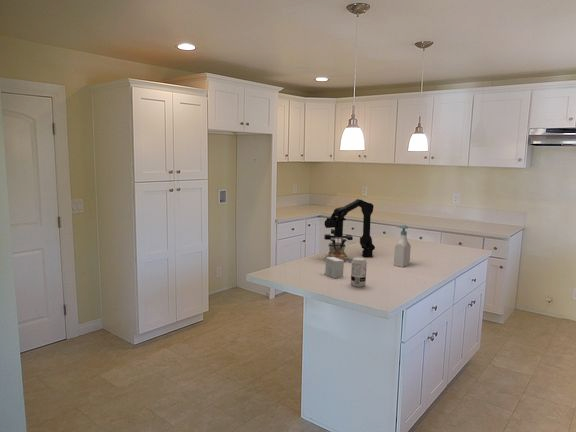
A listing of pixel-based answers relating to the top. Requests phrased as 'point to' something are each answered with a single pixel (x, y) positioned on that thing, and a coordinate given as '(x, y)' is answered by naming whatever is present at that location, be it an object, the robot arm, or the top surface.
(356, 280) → the supplement can
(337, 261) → the skincare box
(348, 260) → the rubber mat
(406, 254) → the soap bottle
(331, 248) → the food container
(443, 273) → the top surface
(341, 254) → the walnut lid
